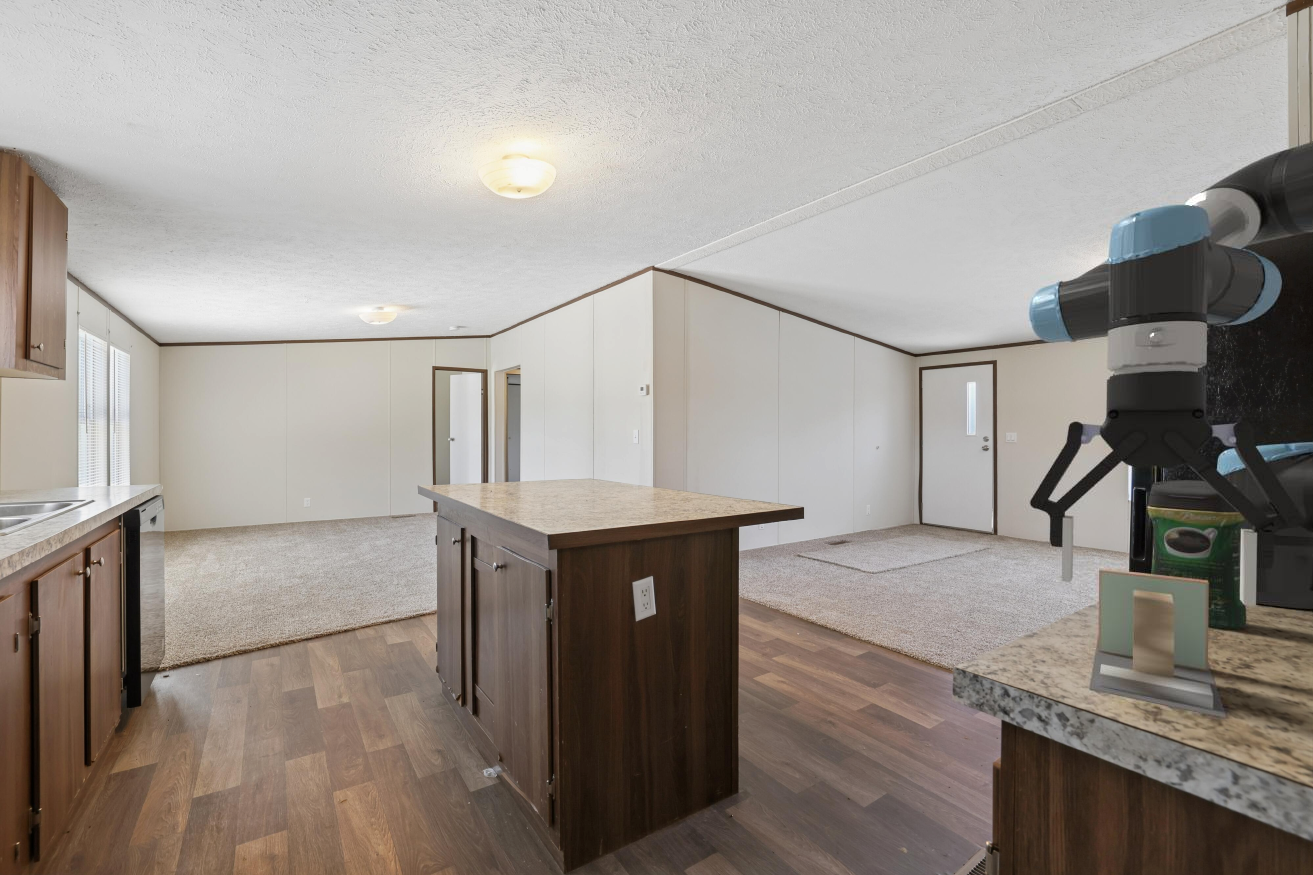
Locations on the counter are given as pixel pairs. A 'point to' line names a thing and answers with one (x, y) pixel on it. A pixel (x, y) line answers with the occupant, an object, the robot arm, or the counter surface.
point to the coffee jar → (1199, 544)
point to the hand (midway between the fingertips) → (1151, 590)
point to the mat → (1179, 673)
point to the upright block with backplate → (1155, 656)
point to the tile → (1187, 614)
